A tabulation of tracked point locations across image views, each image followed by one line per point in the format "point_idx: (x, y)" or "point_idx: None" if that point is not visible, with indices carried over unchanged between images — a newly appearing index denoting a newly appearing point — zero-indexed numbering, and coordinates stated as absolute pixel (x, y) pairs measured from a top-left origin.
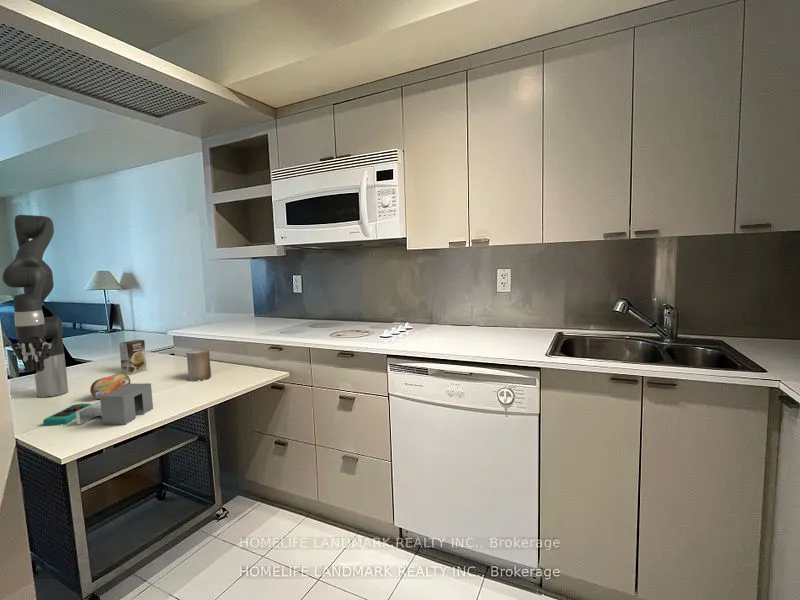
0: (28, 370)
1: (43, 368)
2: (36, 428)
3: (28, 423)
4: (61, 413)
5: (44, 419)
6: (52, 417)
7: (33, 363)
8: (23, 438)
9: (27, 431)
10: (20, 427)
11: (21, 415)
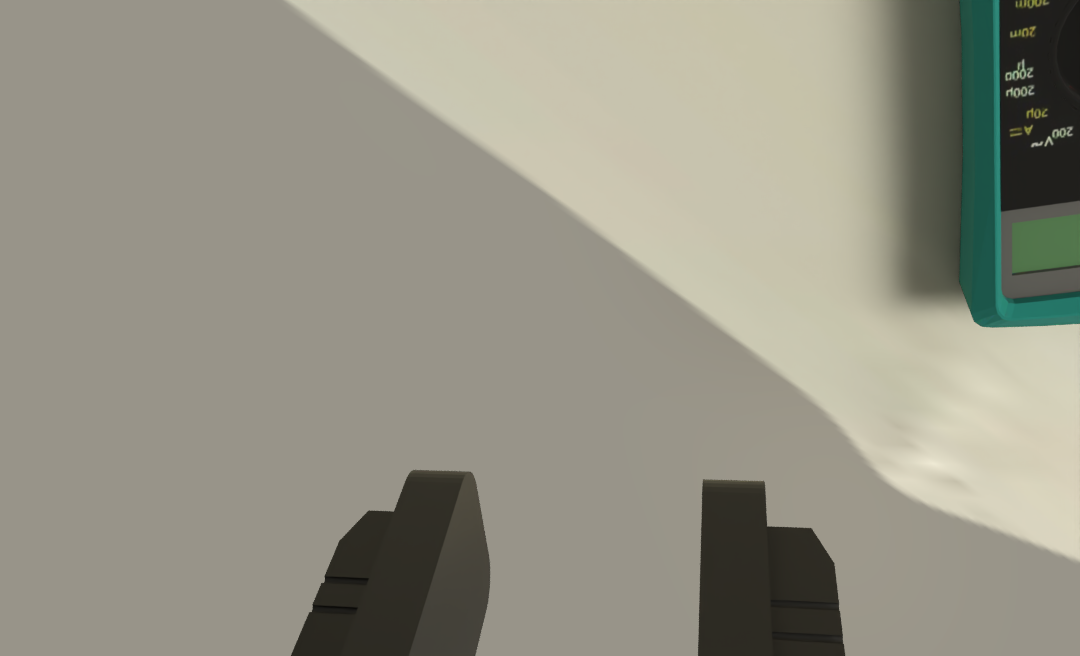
0: (481, 617)
1: (824, 567)
2: (944, 353)
3: (703, 234)
4: (1072, 138)
5: (991, 322)
6: (1015, 230)
7: (417, 644)
8: (1018, 534)
9: (909, 412)
10: (723, 328)
11: (318, 3)
